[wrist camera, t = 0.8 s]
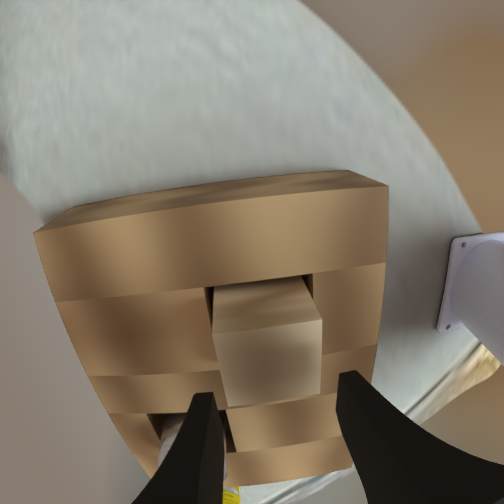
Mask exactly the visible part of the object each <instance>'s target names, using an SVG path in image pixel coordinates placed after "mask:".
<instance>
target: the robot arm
mask: <svg viewBox="0 0 504 504" xmlns="http://www.w3.org/2000/svg"><path fill="white" fill-rule="evenodd" d="M462 243H463V245H462ZM461 245H462V246H461ZM463 326H466V327H467V328H468V329H469V330H470V331H471V332H472V333H473V334H474V335H475V336H476V337H477V338H478V340H479V341H480V342H481V343H482V344H483V345H484V346H485V347H486V348H487V349H488V350H489V351H490V352H491V353H492V354H493V355H494V356H495V357H496V358H497V359H498V360H499V361H500V363H501V364H502V365H503V366H504V231H500V232H493V233H486V234H480V235H473V236H466V237H460V238H455V239H454V240H453V242H452V244H451V250H450V258H449V265H448V272H447V278H446V284H445V290H444V295H443V300H442V305H441V310H440V315H439V320H438V324H437V331H438V332H439V333H444V332H447V331H451V330H454V329H457V328H460V327H463ZM335 411H336V414H337V418H338V422H339V426H340V429H341V433H342V436H343V438H344V440H345V443H346V445H347V448H348V450H349V453H350V455H351V457H352V460H353V462H354V464H355V467H356V469H357V472H358V474H359V476H360V479H361V481H362V484H363V487H364V490H365V493H366V497H367V501H368V504H504V465H501V464H497V463H494V462H490V461H487V460H484V459H481V458H478V457H476V456H473V455H471V454H468V453H466V452H464V451H462V450H460V449H457V448H455V447H453V446H451V445H449V444H447V443H445V442H444V441H442V440H440V439H439V438H437V437H435V436H434V435H432V434H430V433H429V432H427V431H426V430H424V429H423V428H421V427H420V426H419V425H417V424H416V423H414V422H413V421H412V420H411V419H409V418H408V417H407V416H405V415H404V414H403V413H402V412H400V411H399V410H398V409H397V408H396V407H395V406H394V405H392V404H391V403H390V402H389V401H388V400H387V399H386V398H384V397H383V396H382V395H381V394H380V393H379V392H378V391H377V390H376V389H375V388H374V387H373V386H372V385H371V384H370V383H369V382H368V381H367V380H366V379H365V378H364V377H363V376H362V375H361V374H360V373H359V372H358V371H357V370H352V371H347V372H342V373H339V379H338V390H337V400H336V409H335ZM224 456H225V450H224V436H223V426H222V422H221V419H220V415H219V412H218V408H217V404H216V401H215V397H214V393H213V392H203V393H195V394H194V395H193V397H192V400H191V403H190V406H189V409H188V411H187V414H186V416H185V418H184V421H183V423H182V425H181V427H180V429H179V431H178V434H177V436H176V438H175V440H174V442H173V444H172V446H171V447H170V449H169V451H168V453H167V454H166V456H165V458H164V460H163V461H162V463H161V465H160V466H159V468H158V469H157V471H156V472H155V474H154V475H153V477H152V478H151V480H150V481H149V483H148V484H147V485H146V487H145V488H144V489H143V490H142V492H141V493H140V494H139V495H138V497H137V498H136V499H135V500H134V501H133V502H132V504H223V481H224Z"/></svg>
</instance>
